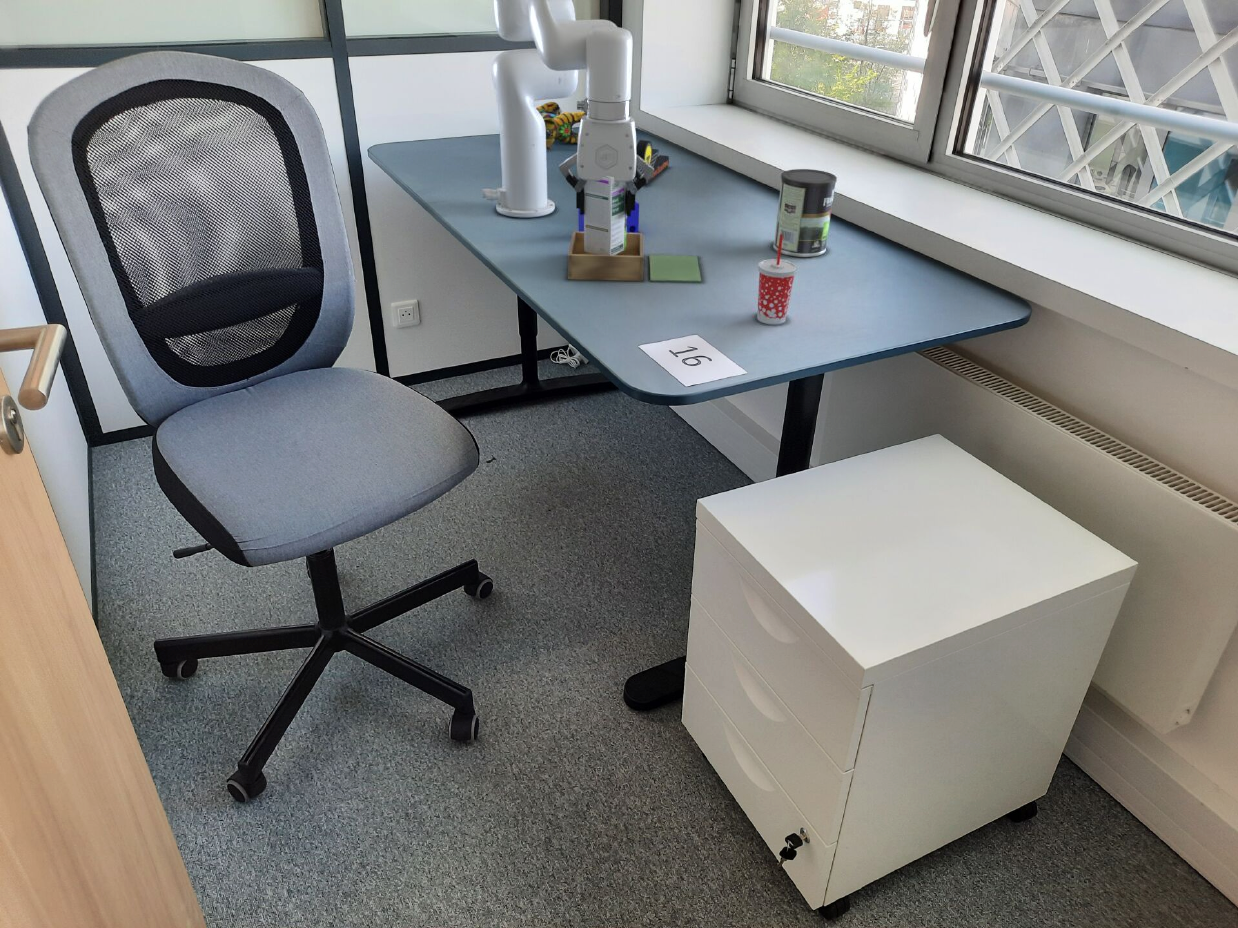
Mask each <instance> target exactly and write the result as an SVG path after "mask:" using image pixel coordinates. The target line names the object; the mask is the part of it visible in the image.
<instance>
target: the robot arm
mask: <svg viewBox="0 0 1238 928" xmlns="http://www.w3.org/2000/svg"><path fill="white" fill-rule="evenodd" d="M492 5H493V17H494V24H495V29H496V32H497V34H498V36H499V37H500V38H501V39H503V40H504V41H509V42H534V44H535V47H536V48H535V47H534V48H517V49H516V48H515V49H509V50H505V51H502V52H500V53H499V54H497V56H495V58H494V59H493V60H492V64H491V79H492V84H493V89H494V94H495V99H496V105H497V115H498V126H499V127H498V128H499V142H500V144H499V145H500V162H501V163H500V165H501V183H502V185H501V187H497V188H496V189H491V188H482V193H481V194H482V199H486V201H497V203H496V204H495V208H496V211H497V212H498V213H499V214H501V215H504V216H507V217H513V218H525V219H526V218H538V217H543V216H547V215H550V214H551V213H553V212H554V211H555V208H556V204H555V202H554V201H553V200H551V199H549V198H548V170H547V169H548V167H547V166H548V165H547V150H546V127H545V122H544V119H543V117H542V116H541V114H540V113H539V112H538V110H537V109H536V108H537V107H536V106H535V104H534V102H538V101H543V100H545V101H546V100H558V99H565V98H569V97H571V96H573V94H575V92H576V90H577V87H578V83H579V71H580V70H585V98H583V100H577V101H576V110H578V111H580V112H585V116H583V117H582V118H581V121H580V122H579V128H578V144H577V150H576V151H577V152H575V153H574V154H573V155H570V157H568V158H567V159H565V160H564V161H563V162H561V163H560V164H559V166H558V170H559V172H560V173H561V174H562V176H563V177H564V179H565V180H566V182H567V183H568V184H569V185H570V187H572V188H573V189H574V191H575V192H576V193H575V195H576V196H575V200H576V201H575V207H576V209H577V210H578V209H580V215H583V214H584V185H585V184H586V182H587V181H600V180H602V178H603V177H604V176H612V177H614V181H615V182H625V183H626V185H627V186H628V195H627V216H628V217H631V211H635V202H636V196H637V193H638V192H639V191H640V190H641V189H642V188H643V187H644V186H646V185H645V184H646V182H647V181H648V180H649V179H650V177H651V176H652V175H653V173H654V168H653V167H652V166H651V165H650V164H648V163H647V162H646V161H645V160H643V159H642V158H641V157H640V156H638V155H637V154H636V147H637V131H636V130H637V129H636V123H635V119H634V117H632V116H631V102H632V101H631V100H632V76H633V49H634V47H633V46H634V44H633V43H634V40H633V39H634V38H633V35H632V33H631V31H629V30H628V29H626V28H624V27H618V26H617V24H616V23H614V22H613V21H611V20H607V19H577V18H576V11H575V5H574V3H573V1H572V0H492ZM575 165H576V173H577V174H576V175H577V177H578V178H577V177H576V175H574V174H573V173H572V171H571V170H570V168H571V167H573V166H575ZM636 165H637V166H638V167H640V168H641V169H642V170H643V171H644V173H643V175H642V176H641V177H640V178H638V179H637V178H636V177H635V174H636ZM635 178H636V180H635Z"/></svg>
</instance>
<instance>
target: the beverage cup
mask: <svg viewBox="0 0 1238 928" xmlns="http://www.w3.org/2000/svg"><path fill="white" fill-rule="evenodd" d="M782 239H783V234H780V239H779V247H778V251H777V255H776V256H777V257H776V258H771V259H764V260H761V261H760V262H758V264H757V271H758V273H759V277H758V293H757V294H758V295H757V297H758V298H757V314H756V315H757V317H756V318H757V321H759V322H760V323H762V324H766V325H781V324H783V323H785V322H786V319H787V314H788V309H789V304H790V300H791V299H790V298H791V294H792V290H793V289H792V288H793V284H794V278H795V275H796V274H797V271H798V266H797V264H795V263H794V262H793V261H789V260H785V259H781V255H782V253H781V248H782Z"/></svg>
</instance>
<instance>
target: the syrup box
mask: <svg viewBox="0 0 1238 928" xmlns="http://www.w3.org/2000/svg"><path fill="white" fill-rule="evenodd" d="M628 191H629V188H628V186H627V185H626V183H625V182H615V181H614V177H612V176H604V177H603V178H602V180H600V181H587V182H586V184H585V185H584V251H585V252H587V253H590V254H593V255H616V254H618V253H620V252H622V251H624V250H626V236H627V196H628Z"/></svg>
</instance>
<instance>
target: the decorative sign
mask: <svg viewBox="0 0 1238 928" xmlns="http://www.w3.org/2000/svg"><path fill="white" fill-rule="evenodd" d="M659 152H660V151H659V149H657V148H653V144H652V141H651V140H645V139H644V140H643V139H639V140H638V142H637V143H636V154H637V155H638V156H640V157H641V158H642V159H643V160H645V161H646V162H647V163H648V164H650V165H651V166H652V167H653V168H654V173H653V175H652V176H651V177H650V179H649V180H648V181H647V182H646V184H645V185H644V186H648V185H649V184H650V183H651V182H652V181H654V179H656V178H657V177H658V176H659V175H661V174H662V173H664V171H665V170H667V168H668V167H669V164H670V163H669V162H670V160H669V159H670V157H669V155H663V154H659ZM643 173H644V171H643V170H642V169H641V168H640V167H638V166H637V165H636V174H635V177H634V178H636V180H637V179H638V178H640V177H641V176H642V175H643Z"/></svg>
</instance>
